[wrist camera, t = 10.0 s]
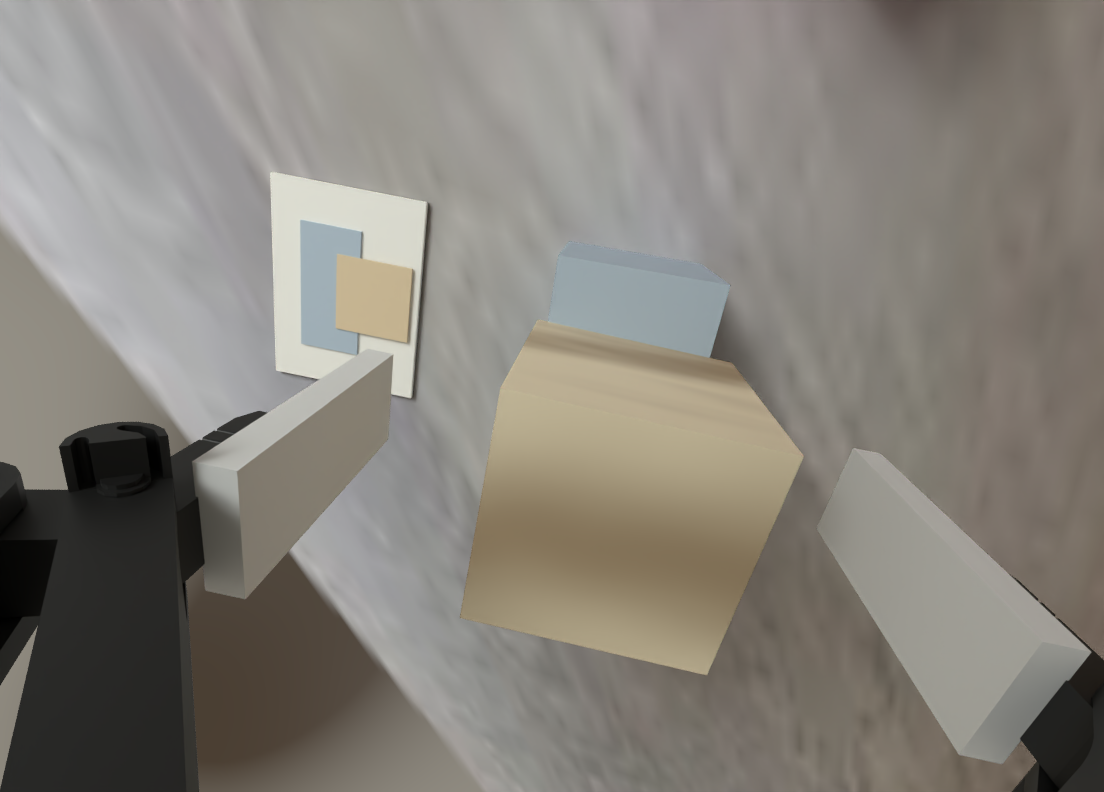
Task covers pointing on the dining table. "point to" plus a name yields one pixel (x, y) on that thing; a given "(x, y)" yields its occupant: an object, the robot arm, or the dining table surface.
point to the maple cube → (624, 497)
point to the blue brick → (638, 297)
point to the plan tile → (345, 276)
